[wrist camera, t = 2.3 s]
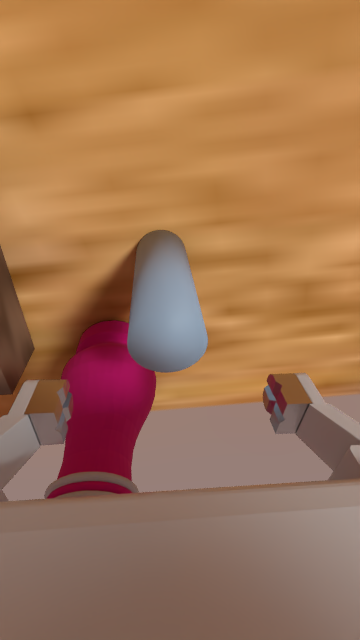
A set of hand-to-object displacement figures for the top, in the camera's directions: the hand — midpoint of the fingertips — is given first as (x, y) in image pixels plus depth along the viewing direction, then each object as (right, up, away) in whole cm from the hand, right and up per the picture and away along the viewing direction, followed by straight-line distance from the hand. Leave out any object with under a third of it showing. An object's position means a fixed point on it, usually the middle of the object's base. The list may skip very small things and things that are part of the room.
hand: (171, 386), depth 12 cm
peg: (-1, +8, +9) cm, 12 cm away
